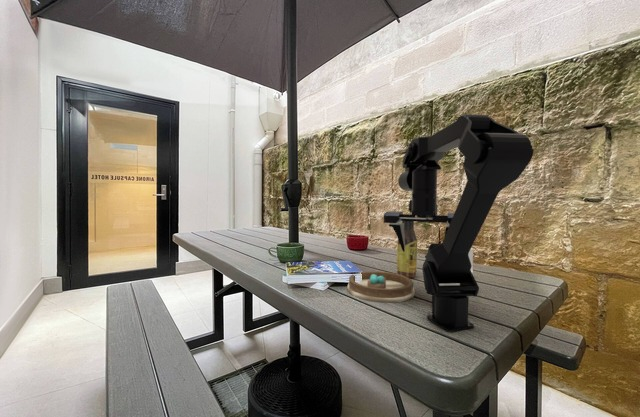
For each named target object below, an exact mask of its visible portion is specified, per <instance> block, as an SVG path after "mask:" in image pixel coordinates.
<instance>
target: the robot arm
mask: <svg viewBox="0 0 640 417" xmlns="http://www.w3.org/2000/svg"><path fill="white" fill-rule="evenodd" d="M456 148H458V150H459V151H460V153H461V154H462V155H463V157H464V162H463V169H464V172H465V173H464V174H465V176H466V180H467V182H466V184H465V187H464V190H463V191H462V194H461V197H460V199H459V201H458V203H457V206H456V209H455V211H454V212H448V213H447V214H444V215H443V214H442V215H441V214H438V202H437V200H438V198H437V197H438V196H437V194H438V193H437V192H438V171H440V170H441V169H442V167H441V165H440V164H439V162H440V160H442V159H444V158H445V154H446V153H447V152H449V151H451V150H453V149H456ZM534 152H535V151H534V148H533V145H532V141H530V139H529V137H528V136H526V135H525V134H523V133H519V132H518V131H516V130H515V129H513V128H511V127H508V126H506V125H503V124H502V123H499V122H497V121H495V119H493V118H492V117H491V116H489V115H488V114H471V113H470V114H468V113H465V114H463V115H460V116H458V118H457V119H456V120H455V121H454V122H452V123H450V124H449V125H446V126H445V127H443V128H442V129H440V130H438V131H436V132H435V133H433V134H432V135H430V136H419V137H416V138H415V137H414V138H413V139H412V140H411V141H410V143H409V144H408V146H407V148H406V151H405V153H404V155H403V158H402V169H404V171H403V172H402V173H401V174H400V175H399V177H398V180H397V182H398V183H397V184H398V186H399V188H400V189H401V190H402V191H405V192H411V200H409V203H408V211H409V213H410V214H409V213H406V214H405V213H404V212H403V211H397V210H395V211H394V210H392V211H386V212H385V213H384V214H383V223H384V224H388V227H392V229H393V231H394V233H395V234H396V237H397V240H398V239H399V242H400V245H401V248H402V250H403V252H404V251H405V236H404V223H402V221H414V222H418V223H419V222H420V223H424V222H425V223H439V224H440V223H441V224H442V223H443V224H446V227H445V232H444V237H443V240H442V242H441V243H437V242H436V243H434V242H433V243H431V244H430V245H429V246H428V250H427V252H426V255H424V258H425V260H424V262H423V263H422V267H421V269H422V276H423V284H424V289H425V291H426V294H428V295H431V314H430V315H429V314H428V315H426V319H427V320H429V321H430V322H432V323H434V324H435V325H437V326H439V327H440V328H442V329H444V330H445V331H447V332H449V333H450V332H456V331H462V330H467V329H471V328H475V324H474V323H472V322H470V321H469V305H470V304H469V303H470V302H469V300H470V299H469V297H478V294H479V290H480V287H479V285H478V283H477V281H476V278H475V276H474V273H473V274H472V272H471V267H472V265H471V262H470V259H469V256H468V254H469V251H470V249H471V248H473V246H474V243H475V241H476V239H477V237H478V235H479V233H480V230H481V229H482V227H483V224H484V223H485V221H486V219H487V218H488V215H489V213H490V211H491V208H492V207H493V205H494V203H495V201H496V199H497V197H498V195H499V193H500V192H501V191H502V190H504V189H505V188H506V187H507V186H509V185H511V184H512V183H513V182H515V181H516V180H518V179H519V178H520V176H521V175H522V173H523V172H524V171H525V170H526V167H528V165H529V164H530V162H531V160H532V159H533V157H534ZM450 283H460V285H444V286H440V285H439V284H450Z"/></svg>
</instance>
